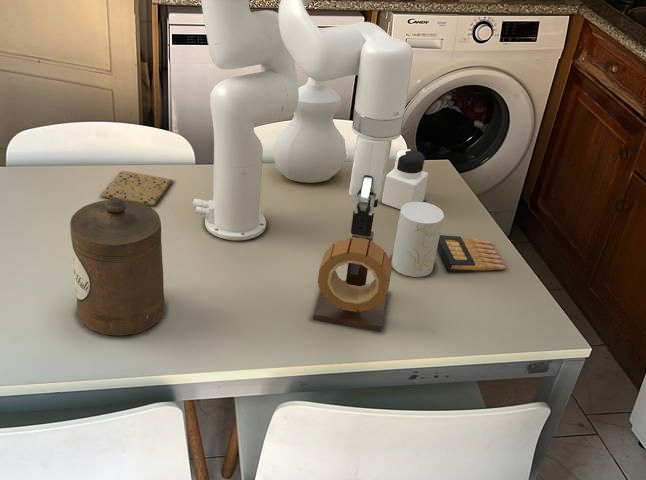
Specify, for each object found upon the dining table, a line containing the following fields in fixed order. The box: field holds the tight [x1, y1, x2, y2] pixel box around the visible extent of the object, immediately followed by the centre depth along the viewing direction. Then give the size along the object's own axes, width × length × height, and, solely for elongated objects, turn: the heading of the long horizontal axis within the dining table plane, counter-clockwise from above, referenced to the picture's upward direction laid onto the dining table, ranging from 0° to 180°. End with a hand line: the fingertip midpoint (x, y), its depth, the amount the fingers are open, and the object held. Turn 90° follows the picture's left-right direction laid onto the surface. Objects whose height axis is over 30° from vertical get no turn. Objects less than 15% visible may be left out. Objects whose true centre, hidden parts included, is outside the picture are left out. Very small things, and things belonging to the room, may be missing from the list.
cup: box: [390, 201, 445, 278], centre depth 157 cm, size 8×8×12 cm
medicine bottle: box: [381, 148, 429, 211], centre depth 177 cm, size 7×7×12 cm
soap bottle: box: [272, 76, 347, 184], centre depth 180 cm, size 17×12×29 cm
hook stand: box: [313, 231, 388, 333], centre depth 144 cm, size 12×13×13 cm
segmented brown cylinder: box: [317, 236, 393, 312], centre depth 140 cm, size 12×5×12 cm, turn 78°
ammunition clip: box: [437, 234, 508, 273], centre depth 163 cm, size 11×2×12 cm
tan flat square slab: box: [101, 170, 173, 207], centre depth 178 cm, size 12×12×1 cm
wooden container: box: [69, 197, 165, 337], centre depth 136 cm, size 15×15×22 cm
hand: (364, 219), depth 133 cm, fingers open, 9 cm apart
